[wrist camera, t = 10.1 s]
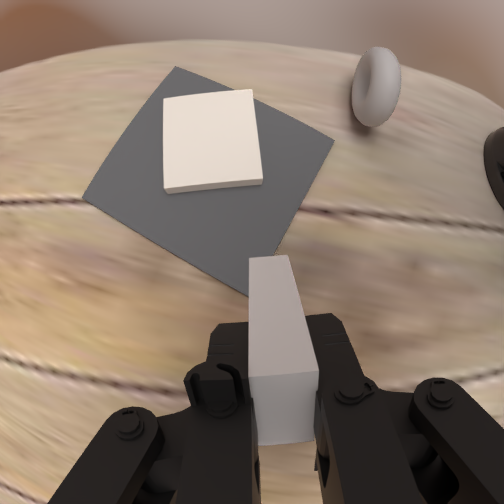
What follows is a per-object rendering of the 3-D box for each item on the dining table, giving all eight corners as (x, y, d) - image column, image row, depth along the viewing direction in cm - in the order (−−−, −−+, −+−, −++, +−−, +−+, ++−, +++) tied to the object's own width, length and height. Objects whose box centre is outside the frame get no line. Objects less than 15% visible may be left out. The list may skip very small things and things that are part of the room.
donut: (374, 143, 36) (411, 103, 26) (348, 137, 36) (379, 94, 26) (371, 80, 37) (399, 35, 27) (347, 74, 37) (371, 26, 27)
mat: (333, 142, 35) (334, 140, 35) (249, 296, 33) (249, 297, 32) (176, 68, 36) (175, 66, 35) (83, 198, 33) (81, 197, 33)
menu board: (263, 178, 32) (251, 89, 33) (163, 188, 31) (163, 98, 32) (261, 184, 34) (251, 98, 35) (168, 194, 33) (166, 107, 34)
